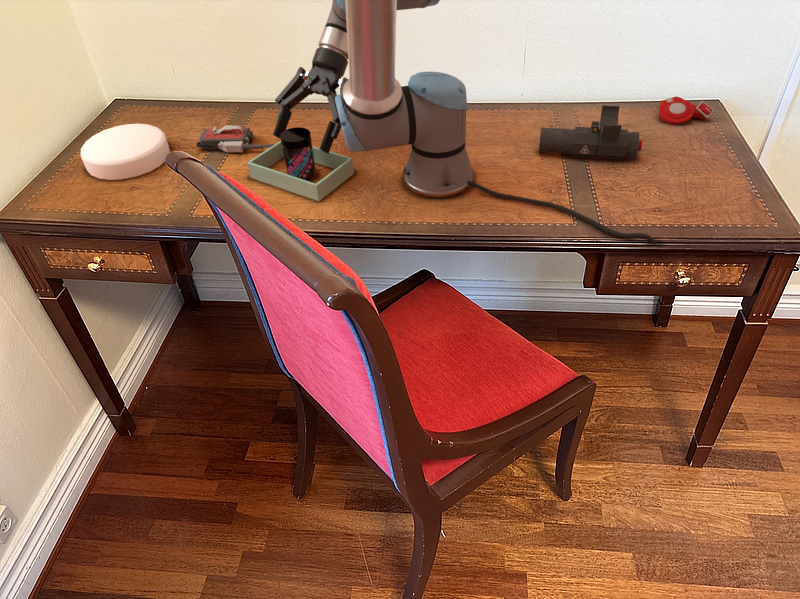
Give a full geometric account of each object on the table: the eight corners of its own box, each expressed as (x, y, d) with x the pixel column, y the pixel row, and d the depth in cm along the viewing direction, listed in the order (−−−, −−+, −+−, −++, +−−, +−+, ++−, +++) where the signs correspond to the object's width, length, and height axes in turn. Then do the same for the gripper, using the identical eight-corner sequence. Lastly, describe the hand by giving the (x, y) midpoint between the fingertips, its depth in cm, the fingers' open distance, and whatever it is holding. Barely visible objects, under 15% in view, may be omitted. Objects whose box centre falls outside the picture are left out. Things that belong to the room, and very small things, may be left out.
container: (167, 173, 148) (161, 155, 145) (79, 185, 146) (71, 167, 143) (172, 134, 163) (167, 117, 160) (92, 144, 160) (85, 128, 157)
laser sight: (539, 141, 151) (543, 102, 144) (636, 147, 147) (646, 107, 140) (537, 162, 144) (542, 121, 137) (639, 168, 140) (649, 127, 133)
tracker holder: (668, 124, 152) (651, 97, 158) (666, 137, 156) (649, 111, 161) (718, 108, 151) (699, 82, 157) (714, 121, 155) (696, 96, 160)
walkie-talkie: (194, 154, 154) (274, 153, 153) (189, 138, 151) (271, 136, 150) (204, 137, 161) (281, 136, 159) (200, 121, 158) (278, 119, 156)
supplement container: (282, 180, 143) (274, 139, 136) (296, 166, 148) (289, 125, 141) (307, 185, 141) (301, 144, 134) (322, 170, 146) (316, 129, 139)
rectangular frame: (354, 173, 144) (352, 158, 142) (318, 201, 136) (316, 185, 134) (287, 152, 153) (284, 137, 150) (250, 177, 145) (246, 162, 142)
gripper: (387, 71, 137) (353, 163, 138) (299, 51, 148) (269, 136, 149) (371, 55, 130) (335, 152, 132) (281, 36, 141) (248, 125, 142)
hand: (300, 144), depth 140 cm, fingers open, 13 cm apart
